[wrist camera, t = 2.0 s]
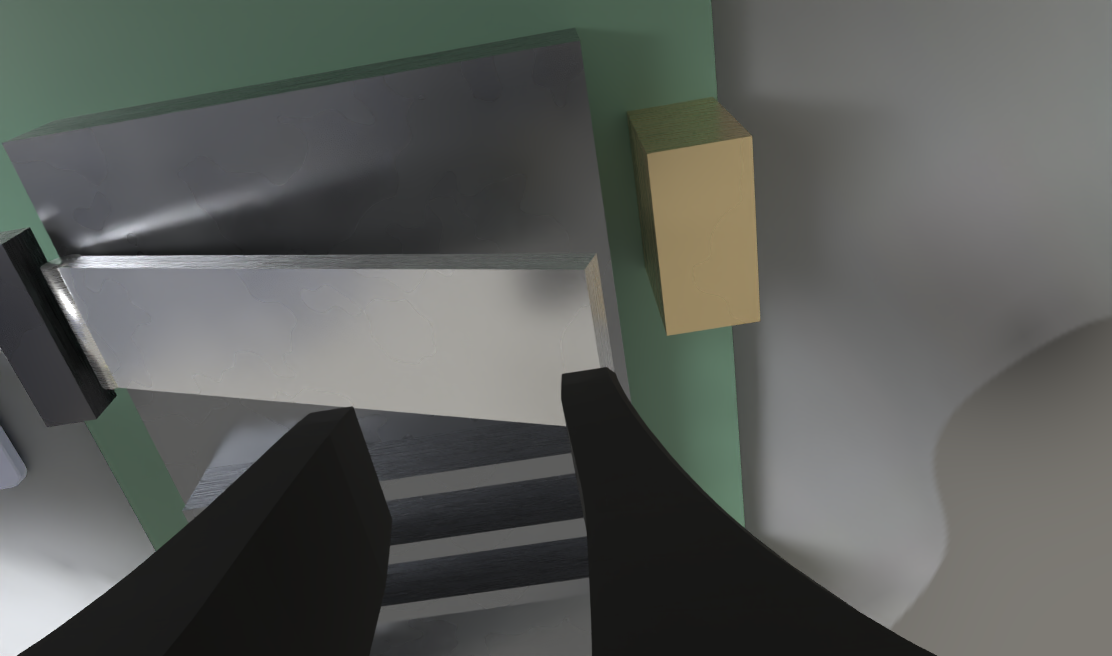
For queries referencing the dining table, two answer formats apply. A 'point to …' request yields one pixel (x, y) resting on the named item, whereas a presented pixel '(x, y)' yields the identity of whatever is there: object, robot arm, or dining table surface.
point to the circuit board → (366, 38)
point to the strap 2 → (343, 328)
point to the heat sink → (394, 228)
